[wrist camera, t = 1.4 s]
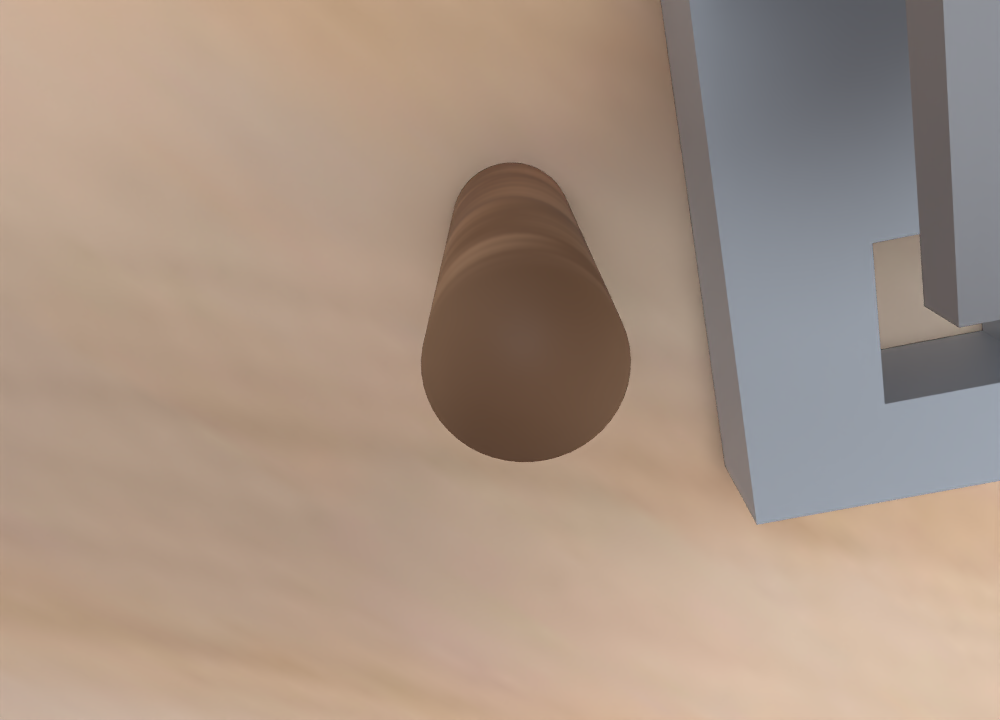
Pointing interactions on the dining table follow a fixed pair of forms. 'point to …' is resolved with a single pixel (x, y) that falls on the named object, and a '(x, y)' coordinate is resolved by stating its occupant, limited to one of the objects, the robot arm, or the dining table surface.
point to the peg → (521, 323)
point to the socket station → (843, 239)
